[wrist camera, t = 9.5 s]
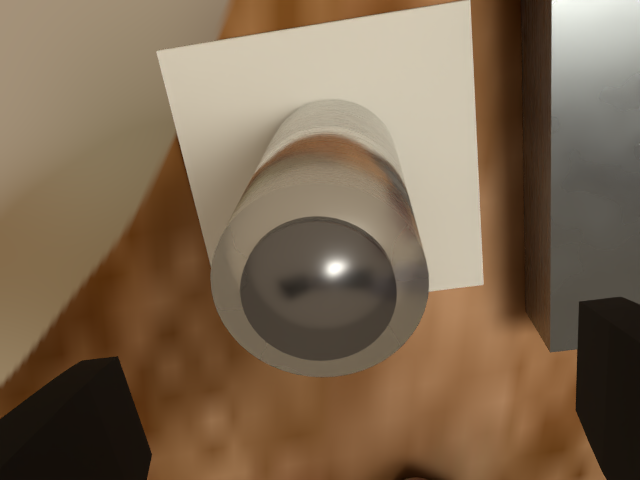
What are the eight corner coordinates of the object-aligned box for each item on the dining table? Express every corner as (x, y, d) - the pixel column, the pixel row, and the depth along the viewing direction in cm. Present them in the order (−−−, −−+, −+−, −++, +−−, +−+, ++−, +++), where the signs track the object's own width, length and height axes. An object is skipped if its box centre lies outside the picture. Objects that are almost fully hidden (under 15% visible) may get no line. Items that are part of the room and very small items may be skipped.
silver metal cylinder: (389, 88, 17) (419, 172, 9) (404, 214, 18) (440, 375, 11) (255, 110, 17) (181, 207, 10) (281, 232, 19) (234, 396, 11)
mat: (466, -1, 16) (470, 0, 16) (480, 279, 20) (483, 284, 20) (160, 49, 17) (156, 50, 17) (225, 311, 21) (223, 317, 20)
